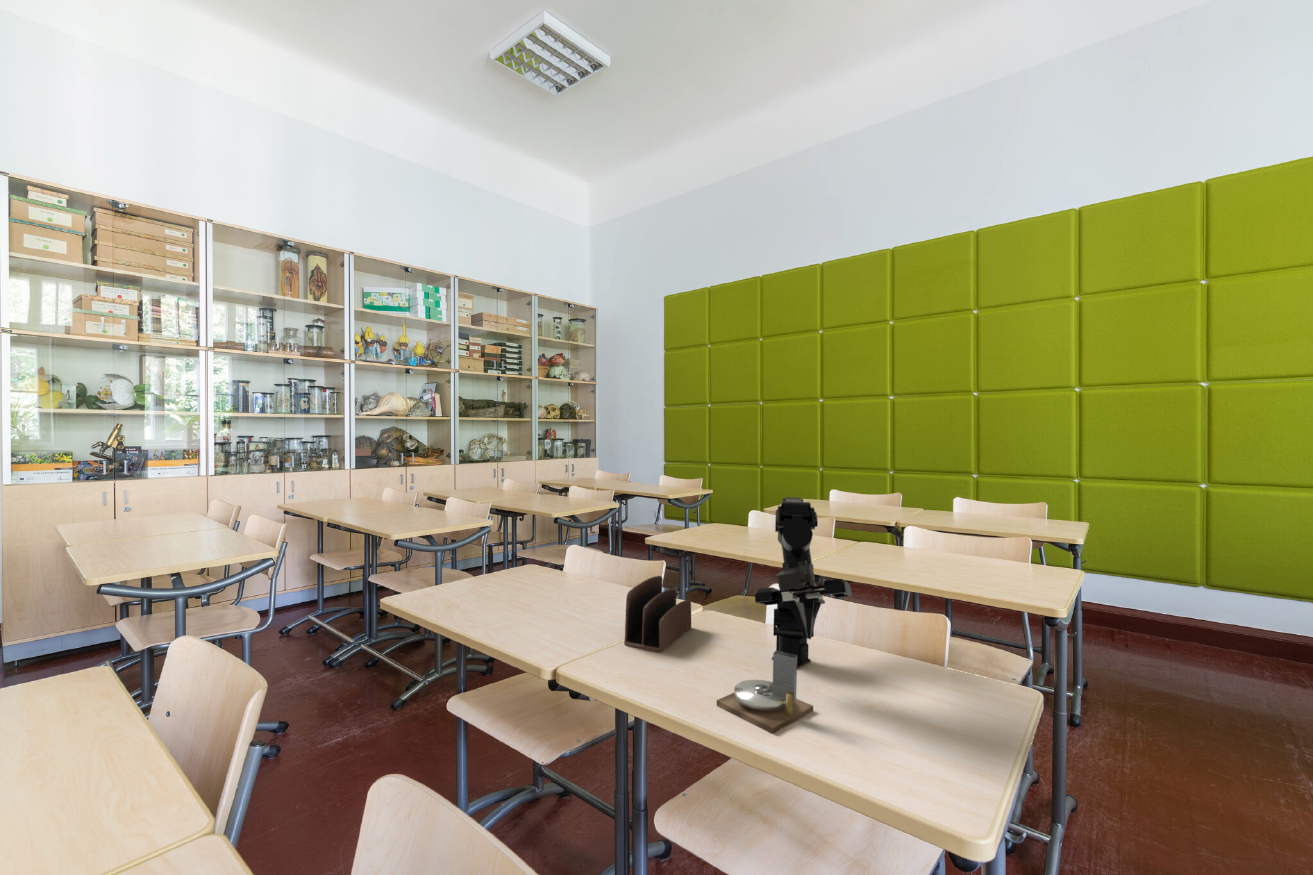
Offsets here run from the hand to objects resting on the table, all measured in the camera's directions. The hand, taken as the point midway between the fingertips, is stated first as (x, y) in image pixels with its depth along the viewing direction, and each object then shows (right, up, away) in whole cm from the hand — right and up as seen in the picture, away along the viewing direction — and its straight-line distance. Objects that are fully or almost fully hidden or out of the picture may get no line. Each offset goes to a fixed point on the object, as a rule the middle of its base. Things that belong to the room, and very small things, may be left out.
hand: (808, 637), depth 109 cm
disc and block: (-10, -10, -6) cm, 15 cm away
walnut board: (-10, -11, -5) cm, 16 cm away
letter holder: (-29, -12, +32) cm, 45 cm away
